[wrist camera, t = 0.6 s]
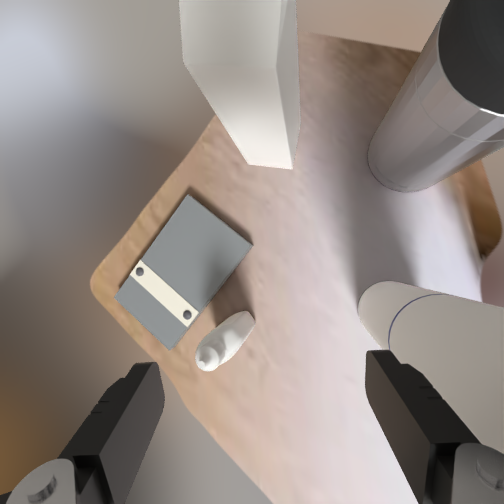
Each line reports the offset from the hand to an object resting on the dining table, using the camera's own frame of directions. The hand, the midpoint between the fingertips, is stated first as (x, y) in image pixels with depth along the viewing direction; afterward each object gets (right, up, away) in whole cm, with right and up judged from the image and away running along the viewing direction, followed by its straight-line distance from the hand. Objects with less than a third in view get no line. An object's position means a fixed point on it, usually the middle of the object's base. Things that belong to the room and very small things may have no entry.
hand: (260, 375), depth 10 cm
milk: (+3, +19, +24) cm, 31 cm away
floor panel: (-10, +2, +26) cm, 28 cm away
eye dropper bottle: (-2, -5, +25) cm, 26 cm away
